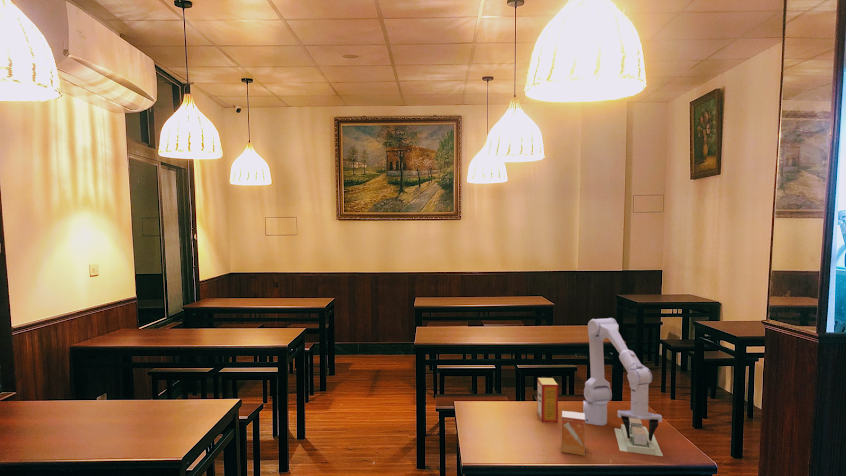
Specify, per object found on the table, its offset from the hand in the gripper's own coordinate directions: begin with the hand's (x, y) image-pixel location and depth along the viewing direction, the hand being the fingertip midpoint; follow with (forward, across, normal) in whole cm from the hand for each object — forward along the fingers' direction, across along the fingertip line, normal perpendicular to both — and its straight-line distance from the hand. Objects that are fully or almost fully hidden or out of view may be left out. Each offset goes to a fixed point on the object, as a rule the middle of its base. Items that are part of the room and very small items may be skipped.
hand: (639, 438), depth 171 cm
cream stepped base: (+4, 0, +5) cm, 6 cm away
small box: (+4, -23, -8) cm, 25 cm away
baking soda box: (+4, -33, +20) cm, 39 cm away
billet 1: (+3, 0, +10) cm, 10 cm away
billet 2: (+3, 0, 0) cm, 3 cm away
